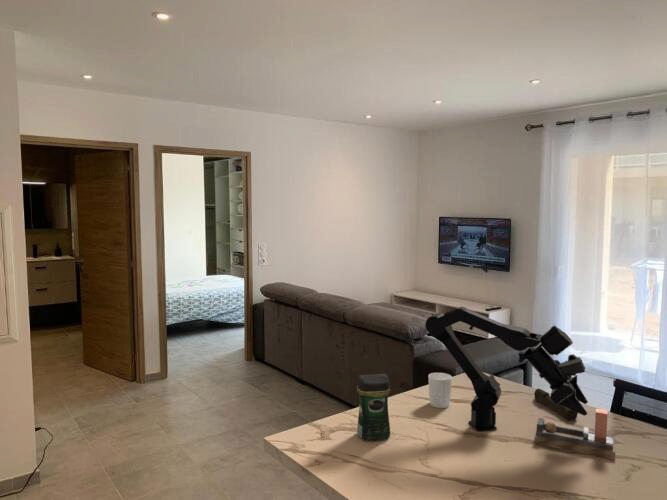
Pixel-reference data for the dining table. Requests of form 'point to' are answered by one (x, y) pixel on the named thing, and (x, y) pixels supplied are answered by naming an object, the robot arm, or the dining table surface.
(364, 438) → the coffee jar
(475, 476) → the dining table surface
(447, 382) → the white cup
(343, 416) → the dining table surface
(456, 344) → the robot arm
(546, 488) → the dining table surface
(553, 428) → the nut
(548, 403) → the dark brown bar
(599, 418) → the lever
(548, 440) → the ball pusher game
